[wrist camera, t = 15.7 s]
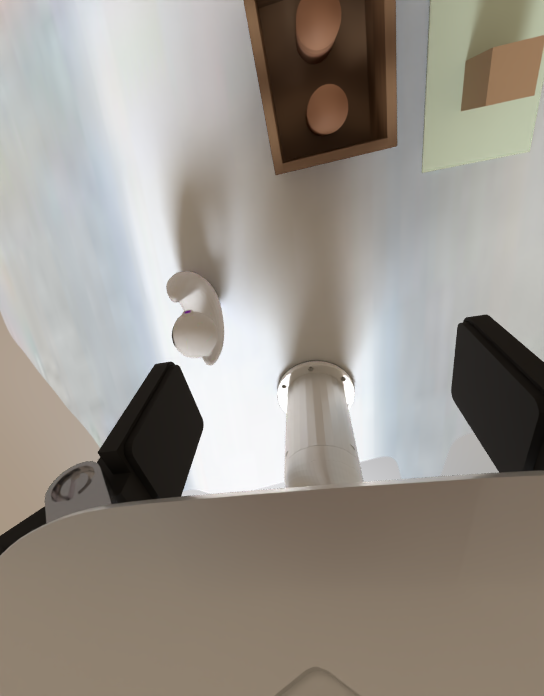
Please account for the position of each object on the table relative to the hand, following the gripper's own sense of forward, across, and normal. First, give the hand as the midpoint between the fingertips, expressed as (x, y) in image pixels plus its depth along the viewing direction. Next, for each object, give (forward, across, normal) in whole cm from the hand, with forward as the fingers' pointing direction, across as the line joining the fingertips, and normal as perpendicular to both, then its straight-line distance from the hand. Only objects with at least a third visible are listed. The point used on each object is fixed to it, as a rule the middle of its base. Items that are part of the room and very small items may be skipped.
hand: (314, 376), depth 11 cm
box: (+33, -4, -12) cm, 36 cm away
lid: (+34, -20, -8) cm, 40 cm away
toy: (+34, +14, +8) cm, 37 cm away
